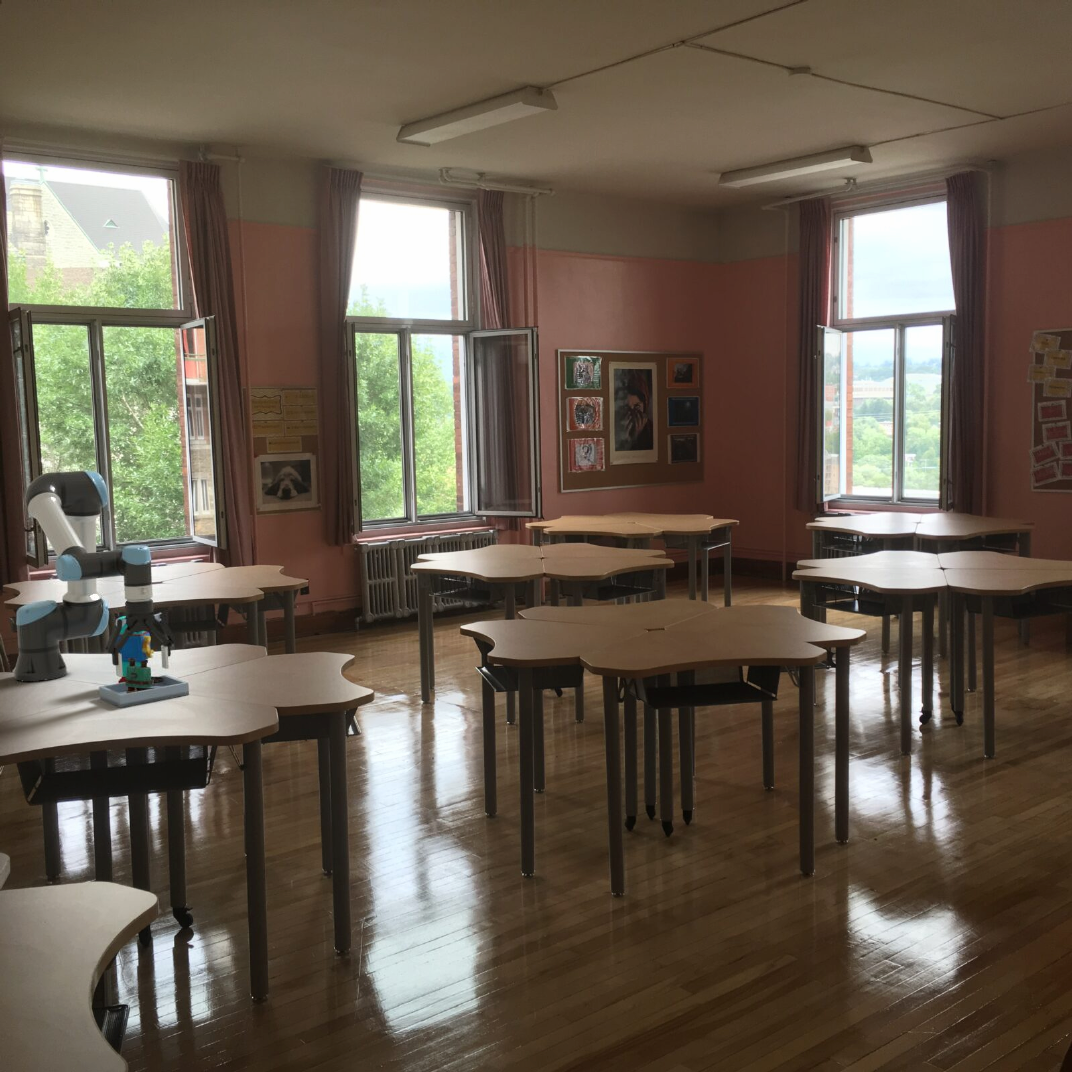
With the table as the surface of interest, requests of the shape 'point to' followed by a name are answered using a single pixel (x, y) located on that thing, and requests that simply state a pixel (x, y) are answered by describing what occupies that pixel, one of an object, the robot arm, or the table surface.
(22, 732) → the table surface
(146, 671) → the binoculars
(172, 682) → the light blue rectangular tray
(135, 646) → the toy robot
